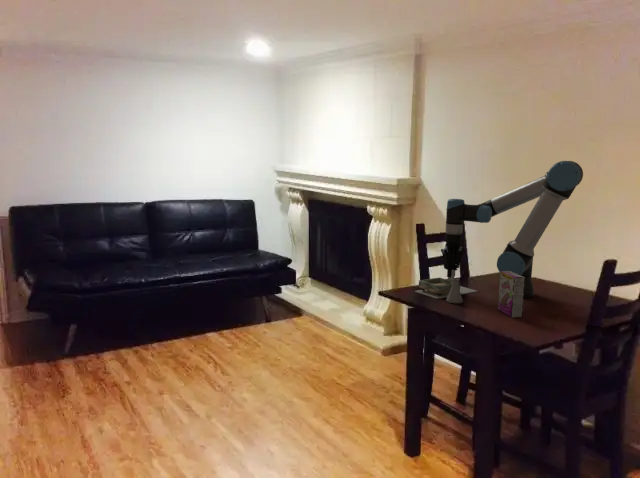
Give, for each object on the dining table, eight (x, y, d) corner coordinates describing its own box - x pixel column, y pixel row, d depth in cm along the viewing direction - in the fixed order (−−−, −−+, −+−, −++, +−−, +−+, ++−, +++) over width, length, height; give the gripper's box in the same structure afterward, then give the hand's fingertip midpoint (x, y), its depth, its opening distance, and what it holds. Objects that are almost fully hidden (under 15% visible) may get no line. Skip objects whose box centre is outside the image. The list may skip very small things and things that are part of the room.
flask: (461, 300, 251) (463, 277, 250) (464, 304, 244) (465, 281, 242) (444, 299, 252) (446, 276, 250) (446, 303, 245) (448, 280, 243)
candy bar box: (496, 310, 236) (499, 270, 234) (507, 309, 237) (510, 270, 235) (510, 318, 226) (514, 277, 223) (522, 317, 227) (525, 276, 224)
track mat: (477, 291, 266) (477, 290, 266) (436, 298, 252) (436, 297, 252) (455, 285, 277) (455, 284, 277) (414, 291, 263) (414, 290, 263)
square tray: (459, 293, 260) (460, 283, 259) (438, 296, 253) (439, 286, 252) (439, 287, 271) (439, 277, 270) (418, 290, 264) (418, 280, 263)
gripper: (457, 231, 268) (454, 280, 272) (437, 232, 261) (434, 283, 265) (470, 233, 262) (466, 284, 266) (449, 235, 255) (446, 287, 259)
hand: (450, 283), depth 265 cm, fingers closed
